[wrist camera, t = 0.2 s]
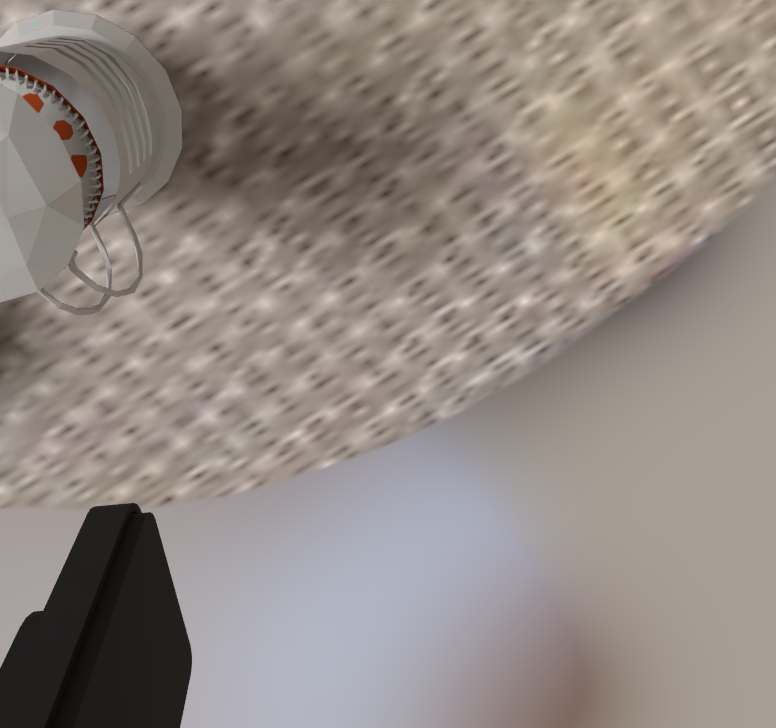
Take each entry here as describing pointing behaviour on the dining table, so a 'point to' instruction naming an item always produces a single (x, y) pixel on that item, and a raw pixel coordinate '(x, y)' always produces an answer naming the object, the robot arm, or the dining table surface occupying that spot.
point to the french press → (76, 144)
